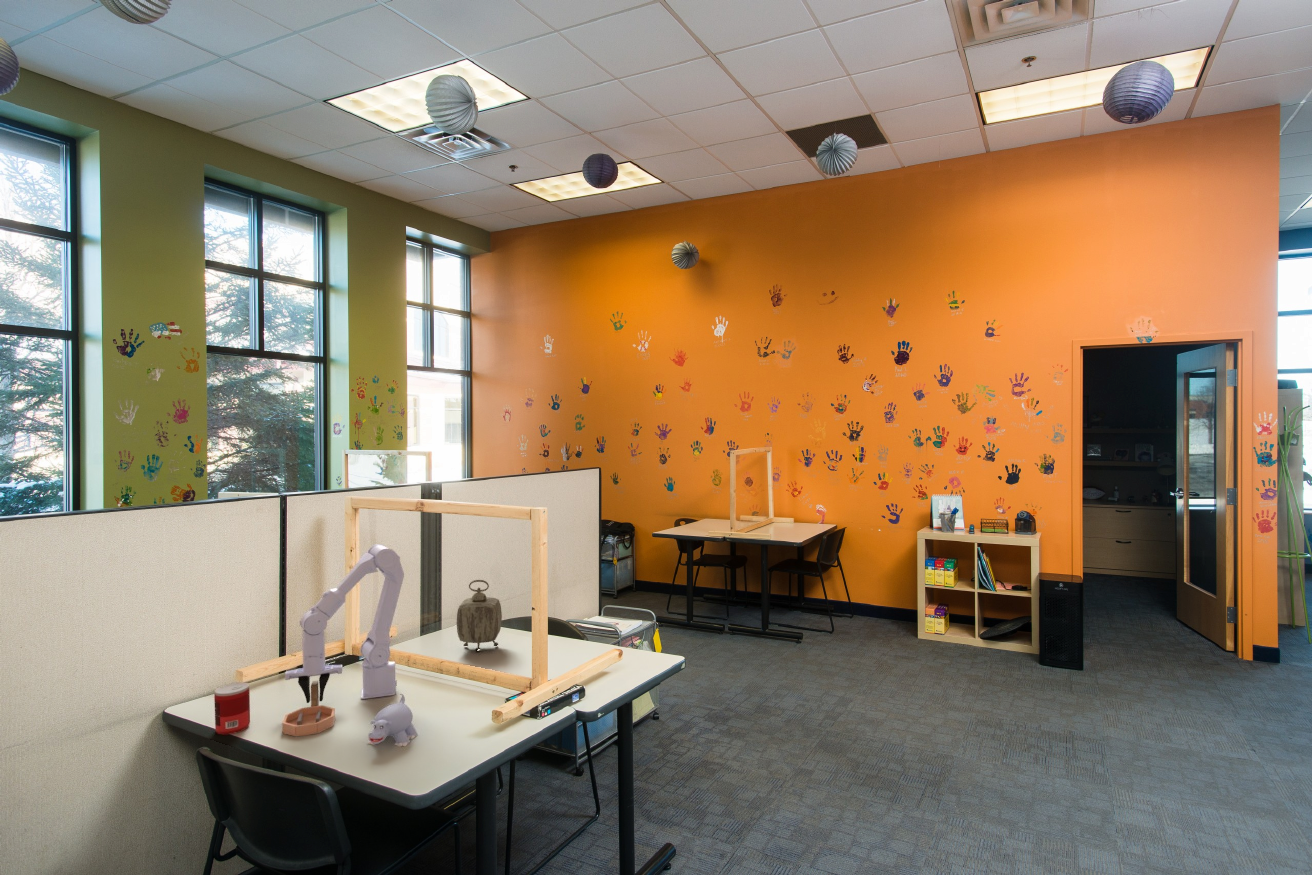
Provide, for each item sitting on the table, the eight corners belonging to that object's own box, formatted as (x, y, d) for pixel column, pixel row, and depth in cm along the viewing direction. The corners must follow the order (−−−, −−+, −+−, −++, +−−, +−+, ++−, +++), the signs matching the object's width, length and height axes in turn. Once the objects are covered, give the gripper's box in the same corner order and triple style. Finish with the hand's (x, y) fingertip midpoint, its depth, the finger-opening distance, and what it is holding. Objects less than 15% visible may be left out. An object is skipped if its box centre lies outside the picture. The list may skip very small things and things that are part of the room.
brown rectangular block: (318, 704, 200) (318, 680, 200) (317, 709, 196) (316, 685, 196) (312, 704, 199) (312, 681, 199) (311, 710, 196) (310, 686, 195)
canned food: (256, 724, 187) (255, 683, 187) (230, 737, 180) (229, 695, 179) (235, 719, 190) (234, 680, 189) (208, 732, 182) (207, 691, 182)
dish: (336, 712, 194) (336, 703, 194) (332, 731, 183) (332, 721, 183) (287, 719, 190) (287, 709, 190) (280, 738, 179) (280, 728, 179)
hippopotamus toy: (353, 755, 170) (353, 716, 170) (385, 727, 185) (384, 692, 185) (395, 757, 169) (394, 719, 169) (423, 729, 184) (422, 694, 183)
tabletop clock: (502, 645, 250) (501, 576, 250) (497, 654, 241) (497, 582, 240) (461, 646, 250) (460, 577, 249) (455, 654, 241) (454, 583, 240)
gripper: (342, 646, 203) (343, 691, 204) (287, 652, 199) (288, 698, 199) (340, 654, 197) (341, 701, 197) (283, 660, 192) (284, 708, 192)
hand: (314, 700), depth 198 cm, fingers open, 3 cm apart
